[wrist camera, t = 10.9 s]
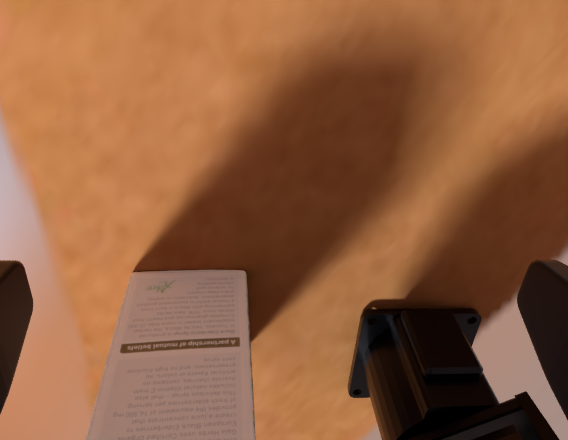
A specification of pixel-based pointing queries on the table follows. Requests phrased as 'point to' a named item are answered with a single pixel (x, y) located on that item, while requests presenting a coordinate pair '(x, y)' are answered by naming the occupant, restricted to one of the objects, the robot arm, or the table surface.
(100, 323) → the table surface
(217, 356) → the syrup box
